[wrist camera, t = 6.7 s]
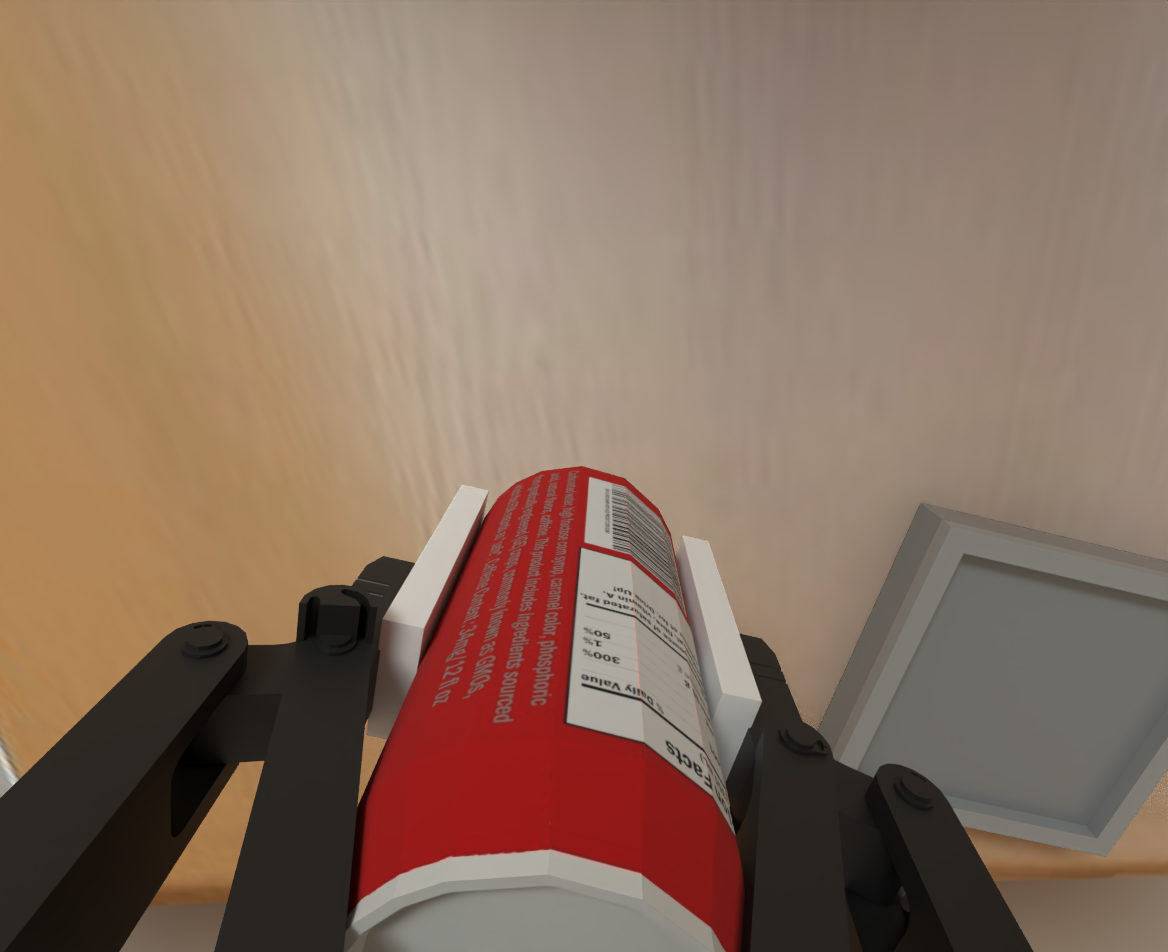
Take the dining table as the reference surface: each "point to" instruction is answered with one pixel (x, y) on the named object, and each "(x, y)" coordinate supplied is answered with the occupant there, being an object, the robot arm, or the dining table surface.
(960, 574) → the tray
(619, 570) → the soda can
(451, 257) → the dining table surface
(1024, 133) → the dining table surface
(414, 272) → the dining table surface
